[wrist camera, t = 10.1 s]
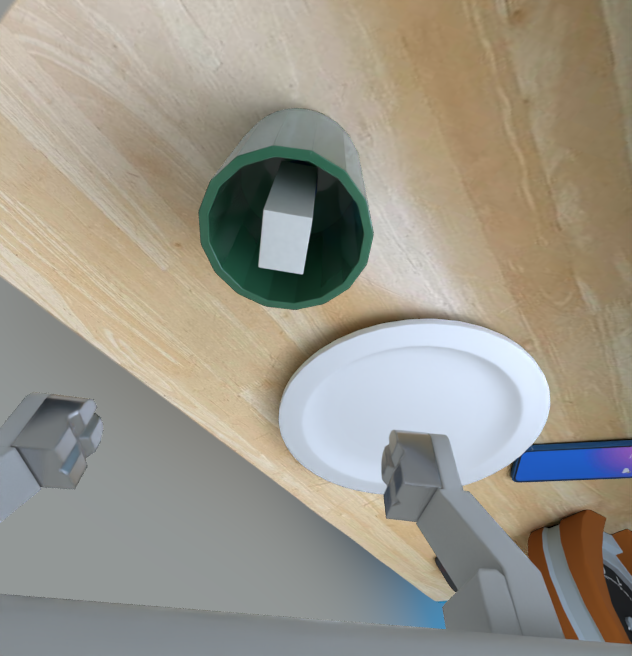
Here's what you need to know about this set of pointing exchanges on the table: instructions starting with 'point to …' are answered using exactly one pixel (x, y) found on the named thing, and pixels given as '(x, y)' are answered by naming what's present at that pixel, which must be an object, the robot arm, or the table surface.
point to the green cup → (328, 214)
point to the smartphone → (574, 462)
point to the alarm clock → (587, 577)
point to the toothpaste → (288, 218)
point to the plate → (413, 399)
